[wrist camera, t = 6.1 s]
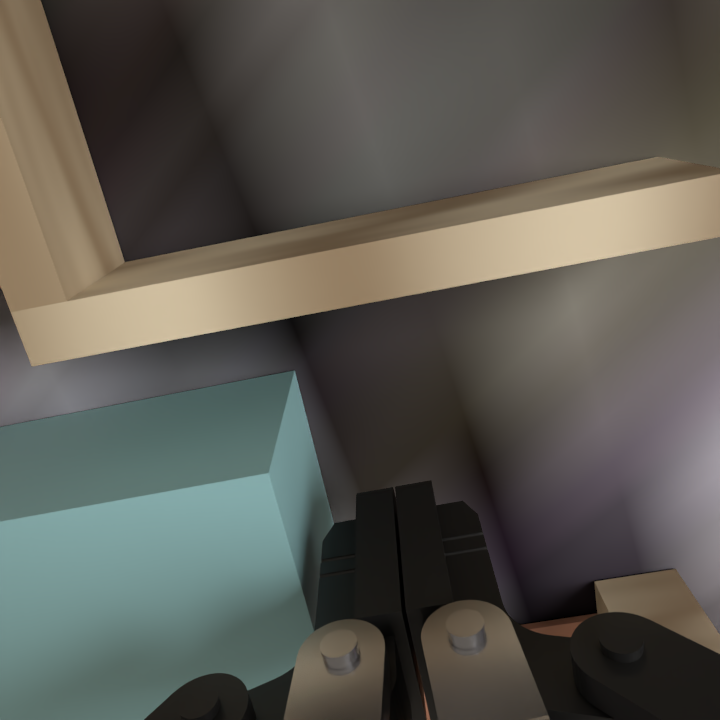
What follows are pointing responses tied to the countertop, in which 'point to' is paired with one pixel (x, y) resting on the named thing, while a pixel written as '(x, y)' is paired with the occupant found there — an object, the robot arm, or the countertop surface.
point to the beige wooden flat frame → (304, 257)
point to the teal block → (157, 548)
